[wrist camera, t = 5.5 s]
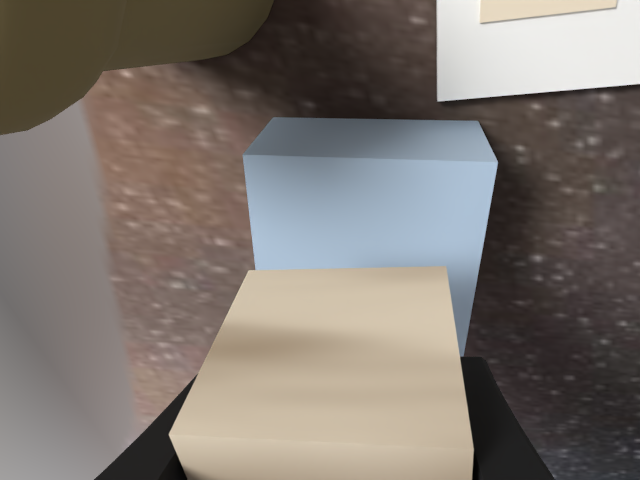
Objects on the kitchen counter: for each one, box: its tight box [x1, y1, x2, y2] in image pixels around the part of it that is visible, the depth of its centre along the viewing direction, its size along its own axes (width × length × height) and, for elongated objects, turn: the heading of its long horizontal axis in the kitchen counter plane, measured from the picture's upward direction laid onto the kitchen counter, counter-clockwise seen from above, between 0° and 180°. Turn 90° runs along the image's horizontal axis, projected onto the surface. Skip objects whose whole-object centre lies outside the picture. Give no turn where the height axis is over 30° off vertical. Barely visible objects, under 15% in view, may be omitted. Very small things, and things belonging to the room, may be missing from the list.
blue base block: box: [243, 117, 498, 356], centre depth 16 cm, size 7×7×4 cm
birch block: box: [169, 266, 474, 480], centre depth 10 cm, size 4×4×4 cm
